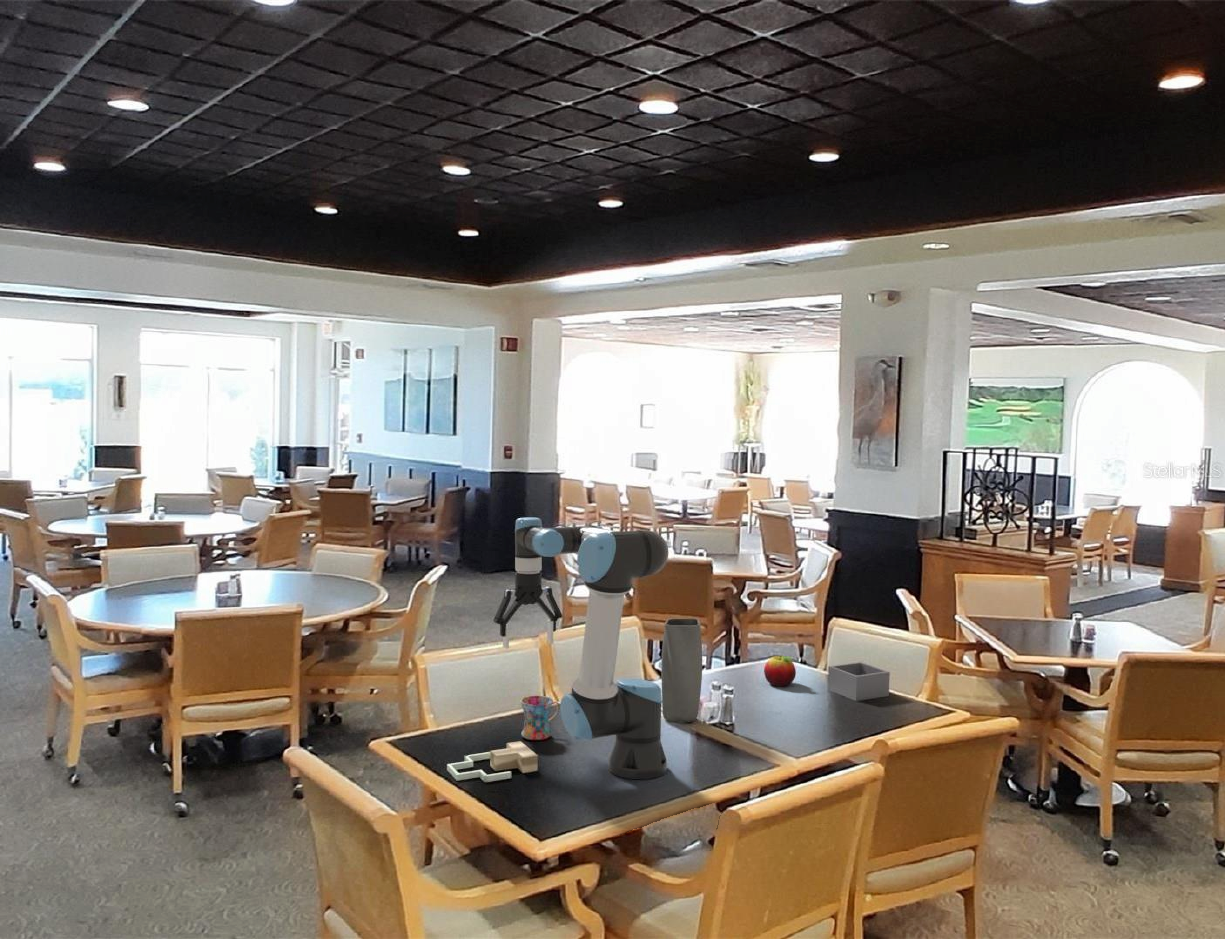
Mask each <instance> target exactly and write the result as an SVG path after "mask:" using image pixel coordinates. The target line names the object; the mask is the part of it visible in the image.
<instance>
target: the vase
mask: <svg viewBox="0 0 1225 939" xmlns="http://www.w3.org/2000/svg"><path fill="white" fill-rule="evenodd" d="M702 640H703V639H702V632H701V622H700V619H697V618H686V617H685V618H680V617H679V618H675V617H674V618H669V619H666V621H665V622H664V632H663V638H662V646H661V648H662V649H661V664H660V665H661V670H660V671H661V673H660V674H661V676H660V677H661V698H662V703H661V713H662V716H663V719H664V720H666V721H668V722H673V723H686V724H687V723H692V722H693V721H695V720H696V719H697V718H698V717H699V716H698V715H699V709H700V702H701V693H702V683H703V682H702V680H703V643H702Z"/></svg>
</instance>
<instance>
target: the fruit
mask: <svg viewBox="0 0 1225 939" xmlns="http://www.w3.org/2000/svg"><path fill="white" fill-rule="evenodd" d="M793 661H794V660H793V658H791V657H789V656H783V655H781V654H780V655H779V656H777V655H776V656H772V657H771V658H769V659H768V661H767V662H765V666H764V669H763V673H764V677H765V680H766V681H767V682H768V683H769V684H770V685H771V686H775V687H787V686H790V685H791V684H792V683H793V682H794V680H795V679H796V674H797V671H796V666H795V665H794V662H793Z"/></svg>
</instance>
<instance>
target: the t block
mask: <svg viewBox="0 0 1225 939" xmlns="http://www.w3.org/2000/svg"><path fill="white" fill-rule="evenodd" d="M489 752H490V759H489V761H490V762H489V763H490V765H489V766H490V767H491V768H492V769H493V771H495V772H498V771H504V770H505V771H506V770H512V769H518V770H519V771H520V772H522V774H525V773H526V774H527V773H532V772H537V771H538V767H539V766H538V764H539V763H538V762H539V758H538V757H539V755H538V754H536V753H535V752H534V751H533V750H532V749H530V748H529V747H528V746H527V745H526V744H524V742H522V741H521V740H519V741H514V742H512V741H511V742H507V743H506V748H501V749H494V750H489Z"/></svg>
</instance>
